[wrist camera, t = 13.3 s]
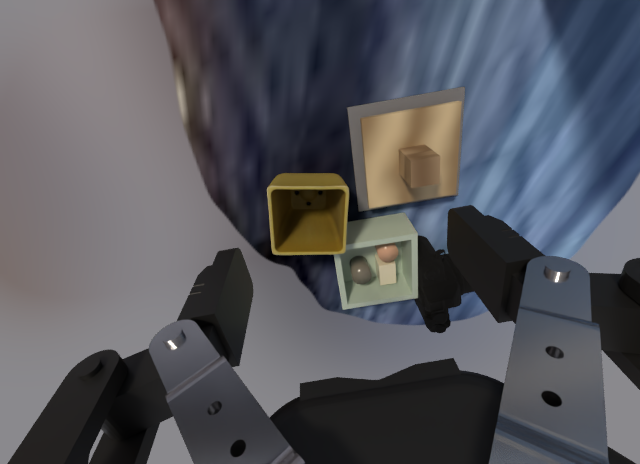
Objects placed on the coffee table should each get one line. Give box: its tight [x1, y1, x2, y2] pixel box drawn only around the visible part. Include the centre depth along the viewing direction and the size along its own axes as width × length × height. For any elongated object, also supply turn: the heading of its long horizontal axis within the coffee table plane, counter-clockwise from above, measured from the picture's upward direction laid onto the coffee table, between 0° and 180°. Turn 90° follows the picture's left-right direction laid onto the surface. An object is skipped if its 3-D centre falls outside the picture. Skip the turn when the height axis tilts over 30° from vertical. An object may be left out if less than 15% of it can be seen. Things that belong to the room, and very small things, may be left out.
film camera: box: [415, 236, 474, 333], centre depth 47 cm, size 15×10×9 cm, turn 15°
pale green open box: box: [334, 213, 418, 310], centre depth 45 cm, size 11×11×6 cm
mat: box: [347, 87, 465, 212], centre depth 41 cm, size 14×14×1 cm
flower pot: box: [267, 173, 349, 255], centre depth 39 cm, size 9×9×9 cm
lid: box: [360, 101, 462, 209], centre depth 38 cm, size 12×12×7 cm
